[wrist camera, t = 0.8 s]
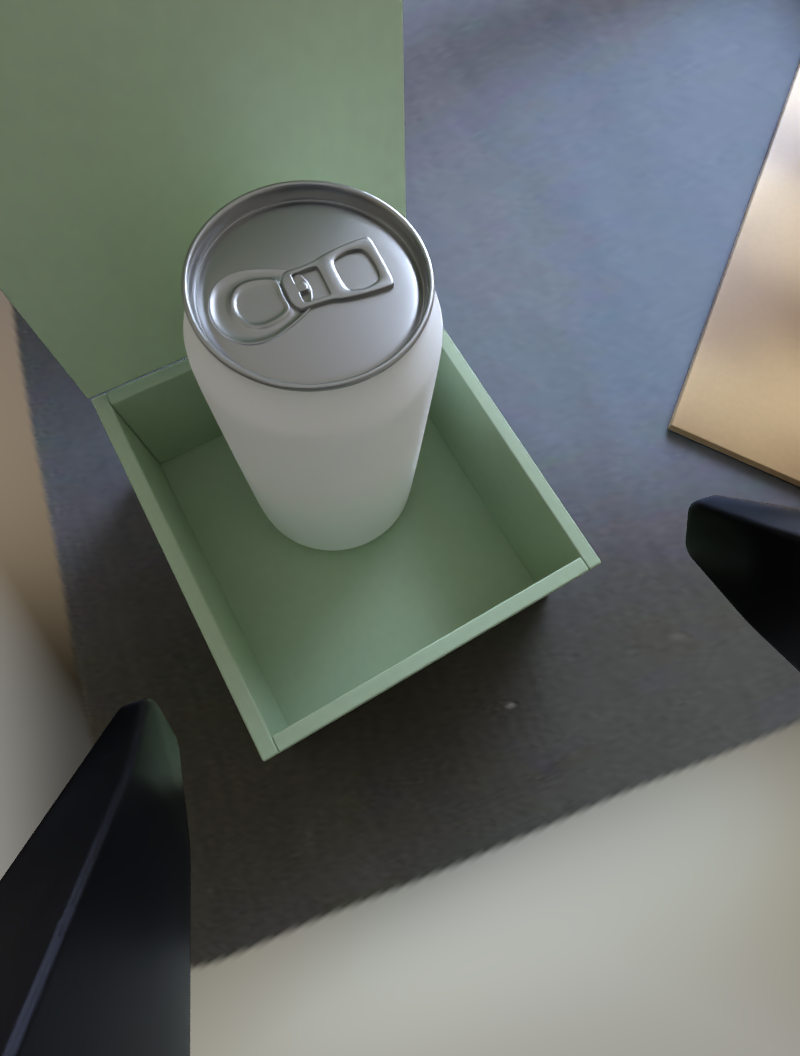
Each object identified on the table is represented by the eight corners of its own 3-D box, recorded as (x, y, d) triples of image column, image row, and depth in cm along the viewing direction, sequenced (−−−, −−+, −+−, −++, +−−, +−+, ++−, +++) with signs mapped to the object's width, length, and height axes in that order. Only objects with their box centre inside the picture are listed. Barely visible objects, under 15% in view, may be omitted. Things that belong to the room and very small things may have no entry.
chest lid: (396, -468, 9) (283, -493, 11) (-510, -347, 7) (-477, -401, 8) (407, 263, 21) (353, 200, 23) (87, 399, 19) (53, 317, 20)
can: (233, 443, 24) (120, 211, 13) (372, 389, 26) (380, 134, 14) (291, 579, 23) (221, 453, 11) (437, 516, 24) (505, 344, 13)
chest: (549, 594, 24) (602, 562, 19) (286, 748, 22) (263, 762, 16) (394, 351, 27) (402, 265, 22) (148, 464, 25) (89, 398, 19)
